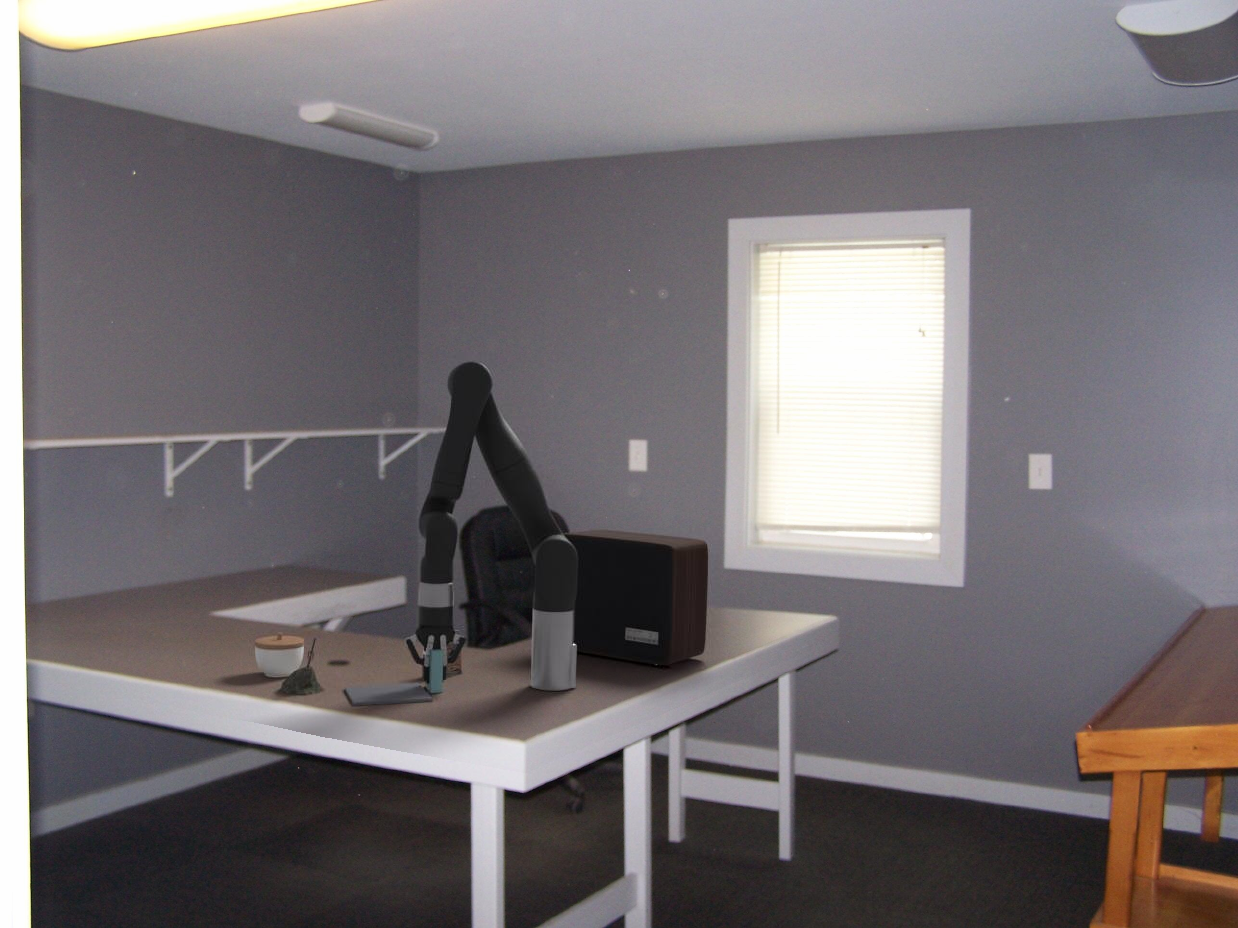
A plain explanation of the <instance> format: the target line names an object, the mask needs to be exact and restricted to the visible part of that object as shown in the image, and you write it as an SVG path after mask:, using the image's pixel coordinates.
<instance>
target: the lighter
mask: <svg viewBox="0 0 1238 928" xmlns="http://www.w3.org/2000/svg"><path fill="white" fill-rule="evenodd" d="M454 630H455V629H454ZM455 633H456V634H458V635H461V631H460V630H459V629H457V630H455ZM454 644H455V643H454V637H453V639H452V640H451V642H450V643H449V644H448V646H447V647H446V648H447V657H448V656H449V654H450V652H451V650H452V648H453V646H454ZM462 660H463V648H462V649H461V651H460V653H459V655H458V657H457V659H456V661H455V662H454V663H449V664H448V665H447V668H446V677H451V676H457V675H462V674H463V669H462Z"/></svg>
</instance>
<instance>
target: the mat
mask: <svg viewBox="0 0 1238 928" xmlns="http://www.w3.org/2000/svg"><path fill="white" fill-rule="evenodd" d="M344 691H345V693H346V695H347V696H348V698H349V700H350V702H351V704H352V705H353V706H354V707H356V706H371V705H373V706H374V704H375V705H390V704H405V703H406V704H407V703H408V704H409V703H425V702H426V703H427V702H433V698H432V697H431V695H430V694H429V693H428V692H427V691H426V689H425V688H424V687H423V686H422V684H421V683H420V682H419V683H417V682H416V683H401V684H396V683H395V684H379V685H362V686H361V685H360V686H359V685H357V686H356V685H355V686H346V687H344Z"/></svg>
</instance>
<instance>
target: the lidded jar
mask: <svg viewBox="0 0 1238 928" xmlns="http://www.w3.org/2000/svg"><path fill="white" fill-rule="evenodd" d="M304 647H305V639H304V638H303V637H300V636H294V635H283V632H277V635H272V636H270V635H269V636H264V637H260V638H257V639H255V640H254V648H255V649H254V654H255V655H254V656H255V661H256V664H257V666H258V668H259V669H260V671H261V672H262V673H264V675H265V677H268V678H288V677H289V676H290V675H291V674H292V673H293V672H294V671H296V670H298V669H300V666H301V664H302V662H303V658H304V654H305V653H304V651H305V648H304Z"/></svg>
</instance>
